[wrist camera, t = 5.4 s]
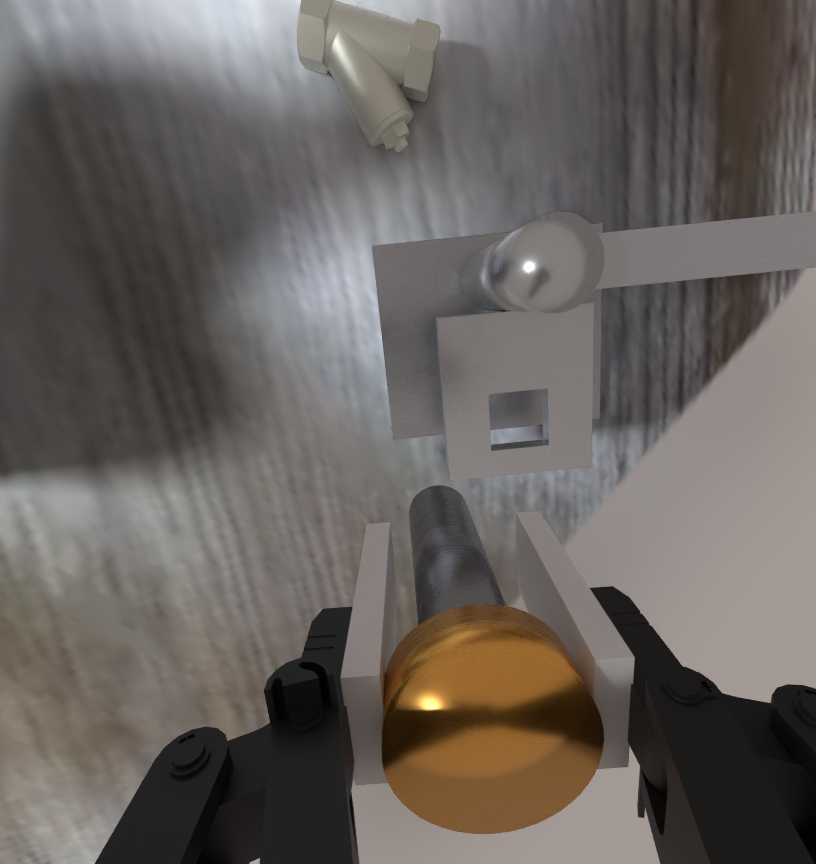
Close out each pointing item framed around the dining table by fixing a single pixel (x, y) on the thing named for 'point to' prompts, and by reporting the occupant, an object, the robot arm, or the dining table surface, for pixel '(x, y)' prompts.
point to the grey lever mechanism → (537, 324)
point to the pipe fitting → (370, 63)
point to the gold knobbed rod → (480, 692)
